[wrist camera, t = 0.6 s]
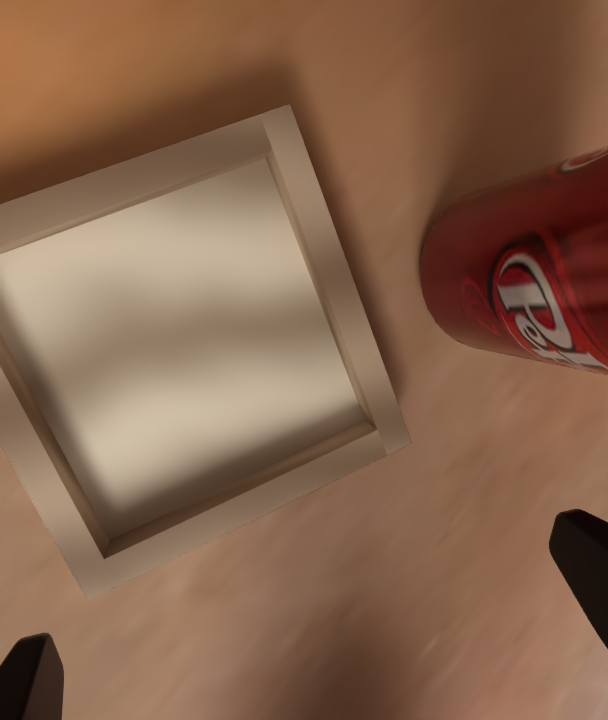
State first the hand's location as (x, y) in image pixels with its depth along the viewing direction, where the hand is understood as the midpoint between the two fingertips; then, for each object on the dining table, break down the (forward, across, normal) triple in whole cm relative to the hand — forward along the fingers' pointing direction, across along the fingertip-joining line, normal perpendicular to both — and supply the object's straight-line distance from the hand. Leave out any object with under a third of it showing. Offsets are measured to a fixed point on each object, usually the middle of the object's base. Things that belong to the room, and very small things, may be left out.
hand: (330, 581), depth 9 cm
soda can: (+15, -12, 0) cm, 19 cm away
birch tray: (+14, +2, +2) cm, 14 cm away
